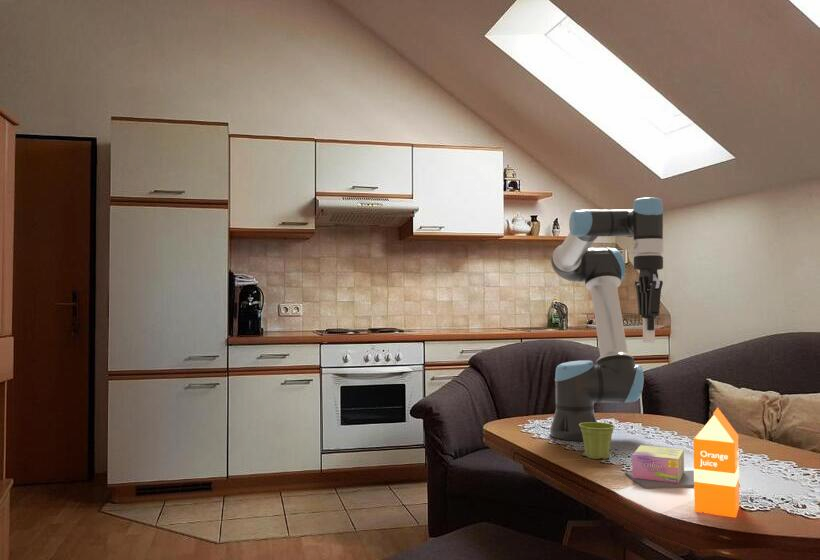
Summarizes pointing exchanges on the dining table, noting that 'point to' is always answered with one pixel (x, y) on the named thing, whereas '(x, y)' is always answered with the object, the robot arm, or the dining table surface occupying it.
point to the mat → (685, 481)
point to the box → (658, 464)
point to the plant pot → (596, 439)
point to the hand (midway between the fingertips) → (648, 342)
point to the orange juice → (716, 468)
